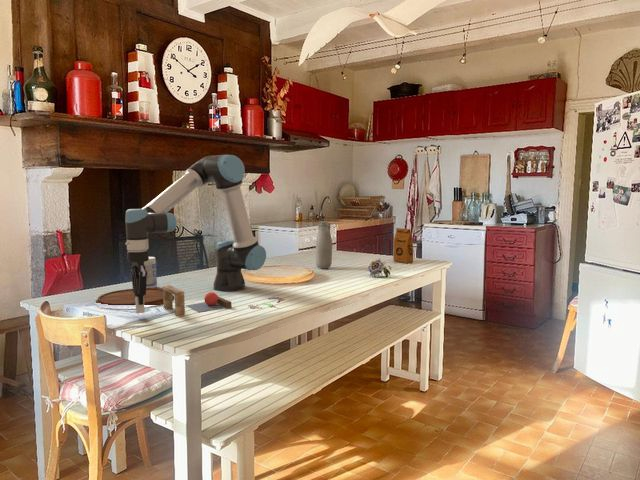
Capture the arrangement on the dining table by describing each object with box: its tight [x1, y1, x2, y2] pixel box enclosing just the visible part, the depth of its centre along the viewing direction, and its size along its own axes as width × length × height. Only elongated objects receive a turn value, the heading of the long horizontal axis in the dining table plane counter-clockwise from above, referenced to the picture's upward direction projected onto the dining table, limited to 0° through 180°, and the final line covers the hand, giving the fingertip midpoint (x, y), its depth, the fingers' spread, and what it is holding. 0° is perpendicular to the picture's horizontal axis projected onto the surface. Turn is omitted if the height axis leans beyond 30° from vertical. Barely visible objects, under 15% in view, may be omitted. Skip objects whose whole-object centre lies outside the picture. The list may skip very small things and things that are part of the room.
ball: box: [204, 291, 219, 306], centre depth 201 cm, size 6×6×6 cm
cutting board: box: [94, 287, 175, 306], centre depth 210 cm, size 32×32×2 cm
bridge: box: [162, 284, 186, 317], centre depth 191 cm, size 3×15×9 cm, turn 38°
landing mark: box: [185, 301, 226, 313], centre depth 200 cm, size 13×13×1 cm
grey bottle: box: [315, 221, 333, 270], centre depth 288 cm, size 10×10×28 cm
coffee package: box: [393, 227, 415, 264], centre depth 313 cm, size 10×12×22 cm
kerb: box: [216, 296, 233, 310], centre depth 203 cm, size 2×16×2 cm, turn 38°
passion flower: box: [365, 258, 392, 279], centre depth 266 cm, size 11×11×12 cm
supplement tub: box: [144, 256, 158, 288], centre depth 234 cm, size 10×10×15 cm
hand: (140, 312), depth 183 cm, fingers closed
